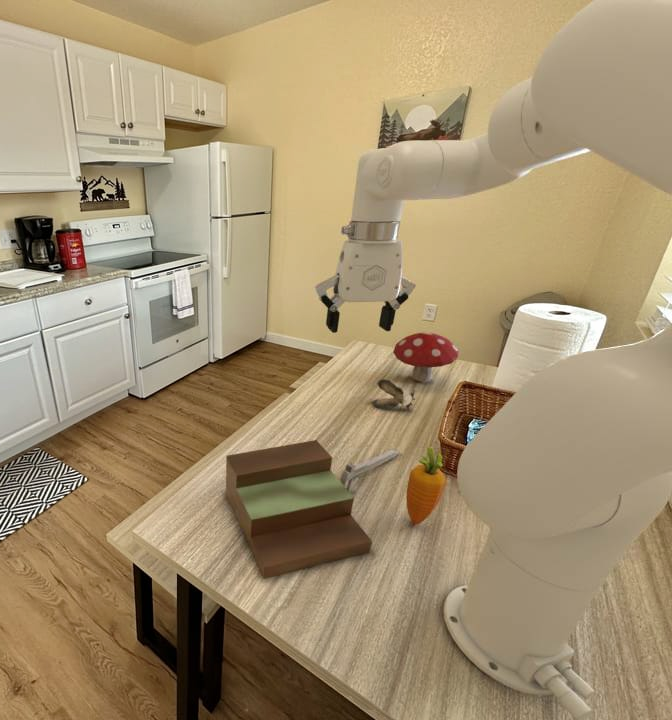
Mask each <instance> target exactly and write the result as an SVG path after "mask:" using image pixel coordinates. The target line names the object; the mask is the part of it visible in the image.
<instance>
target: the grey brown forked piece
mask: <svg viewBox="0 0 672 720" xmlns="http://www.w3.org/2000/svg"><path fill="white" fill-rule="evenodd" d="M376 384H377V386H378V388H379V389H380V390H382V391H383V392H385V393H386V394H388V395H390V396H392V397H390V398H389V397H388V398H387V397H386V398H380V399H379V398H378V399H374V400H372V401H371V404H372V405H373V406H374V407H376V408H385V407H388V408H389V407H390V408H395V407H398V406H399V405H403V407H406V410H408V411H410V408H411V406H413V401H414V400H416V398H415V393H416V389H413V391H411V392H410V394H406V395H405V391H404V390H403V389H402V388H401V387H399V386H397V385H396V384H395V383H393V382H392V380H390V379H383V378H382V379H379V380H378V381H377V382H376Z"/></svg>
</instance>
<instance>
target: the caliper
mask: <svg viewBox="0 0 672 720" xmlns="http://www.w3.org/2000/svg"><path fill="white" fill-rule="evenodd" d="M399 454H400V451H397V450H395V449H394V448H393V449H390V450H387V451H385V452H383V453H381V454H379V455H377V456H375V457H373V458H370V459H369V460H366V461H361V462H359V463H357V464H354V463H352V462H350V463H349V464H346V466H345V469H344V470H343V471H342V474H341V477H340V479H339V481H340V482H341V483H342V484H343V485H344V486H345V488H346V489H347V490H348V491H349V492H351V490H352V488H353V485H354V483H355V481H356V479H361V478H362V477H364V476H365V475H366V473H367V472H369V471H372V469H375V468H376V467H379V466H380V465H383V464H384V463H387V462H388V461H390V460H392V459H395V458H396V456H397V455H399Z"/></svg>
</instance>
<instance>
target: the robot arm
mask: <svg viewBox="0 0 672 720" xmlns="http://www.w3.org/2000/svg"><path fill="white" fill-rule="evenodd" d="M589 152H593V153H594V154H596V155H598V156H599V157H601V158H603V159H604V160H607V162H610V163H612V164H613V165H615V166H617V167H618V168H621V169H623V170H624V171H626V172H628V173H629V174H631V175H633V176H635V177H637V178H639V179H640V180H642V181H644V182H646V183H647V184H649V185H651V186H653V187H655V188H656V189H659V190H661V191H663V192H664V193H666V194H668V195H670V196H672V0H592V1H591V2H590V3H588V4H587V5H586V6H584V7H583V8H582V9H580V10H579V11H578V12H577V13H576V14H575V15H573V16H572V17H571V18H569V20H568V21H567V22H565V24H563V25H562V27H561V28H560V29H559V30H558V31H557V33H555V35H554V36H553V37H552V38H551V39H550V40H549V43H548V44H547V45H546V47H545V48H544V50H543V51H542V53H541V55H540V57H539V60H538V61H537V64H536V66H535V67H534V71H533V73H532V76H531V77H528V78H526V79H525V80H522V81H521V82H519V83H517V84H515V85H513V86H511V88H509V89H508V90H507V91H506V92H505V93H504V94H503V95H502V96H501V97H500V98H499V99H498V100H497V102H496V104H495V106H494V107H493V109H492V112H491V113H490V117H489V121H488V127H487V131H486V132H483V133H481V134H479V135H476V136H474V137H471V138H467V139H463V140H460V139H459V140H457V139H427V140H417V139H416V140H415V139H414V140H404V141H399V142H396V143H393V144H391V145H389V146H386V147H382V148H374V149H369V150H367V151H365V152H363V153H362V154H361V156H360V157H359V160H358V163H357V172H356V177H355V178H356V180H355V187H354V195H353V202H352V210H351V219H350V221H349V222H348V224H347V225H343V226H342V227H341V230H340V231H341V235H346V236H347V238H348V240H344V242H343V244H342V247H341V250H340V252H339V253H340V254H339V257H338V261H337V265H336V270H335V274H334V275H333V276H331V277H329V278H327V279H326V280H323V281H321V282H320V283H317V284H316V285H315V287H314V289H315V291H316V294H317V296H318V300H319V301H320V302H321V303H322V304H323V305H324V306H325V307H326V308H327V310H326V311H327V312H326V320H325V325H326V327H327V329H328V330H329V331H330V332H331V333H334V334H336V333H337V332H338V329H339V323H340V315H341V312H340V311H339V309H340V307H341V306H342V305H343V304H344V303H345V302H347V303H378V302H379V303H380V302H384V304H385V305H382V307H381V310H380V316H379V322H378V327H379V328H381V329H382V330H384V331H385V332H391V330H392V326H394V321H395V317H396V312H397V310H399V309H400V308H401V306H402V305H403V304H404V303H405V302H406V301H407V300H408V299H409V296H410V295H411V294H412V292H413V291H414V290H415V289H416V283H415V282H412V281H411V280H409V279H407V278H406V277H403V276H402V274H403V263H404V259H403V257H404V254H403V253H404V252H403V241H402V240H398V237H399V231H400V226H401V220H402V214H403V210H404V203H405V201H418V200H419V201H420V200H421V201H422V200H451V199H452V200H453V199H458V198H463V197H467V196H471V195H476V194H478V193H482V192H486V191H490V190H493V189H496V188H499V187H503V186H505V185H508V184H511V183H513V182H515V181H518V180H520V179H521V178H522V177H524V176H526V175H527V174H529V173H530V172H531V171H532V170H534V169H537V168H541V167H543V166H547V165H549V164H553V163H556V162H561V161H562V160H567V159H570V158H573V157H576V156H579V155H582V154H583V155H584V154H586V153H589ZM401 287H402V288H401ZM331 288H332V290H333V291H332V292H333V295H332V296H331V297H330V298H329V296H328V293H327V290H329V289H331ZM456 471H457V472H456V478H457V486H458V489H459V492H460V496H461V498H462V500H463V501H464V503H465V505H466V506H467V508H468V509H469V511H470V512H471V513H472V514H473V515H474V516H475V517H476V518H477V519H478V520H479V521H481V522H482V523H483V524H485V525H486V526H488V527H489V528H490V530H489V533H488V535H487V538H486V540H485V543H484V545H483V548H482V550H481V553H480V555H479V558H478V560H477V562H476V565H475V567H474V570H473V572H472V575H471V577H470V579H469V582H468V584H465V585H461V586H458V587H454V589H452V590H451V591H450V592H449V593H448V595H447V596H446V599H445V601H444V603H443V611H442V613H443V618H444V623H445V626H446V628H447V630H448V633H449V634H450V636H451V638H452V640H453V641H454V642H455V644H456V645H457V647H458V648H459V649H460V650H461V652H462V653H463V654H464V656H466V657H467V658H468V660H470V661H471V662H472V663H473V664H474V665H475V666H476V667H477V668H478V669H480V670H481V671H482V672H484V674H486V675H488V676H489V677H490V678H492V679H494V680H495V681H497V682H499V683H500V684H502V685H504V686H506V687H508V688H510V689H513V690H515V691H517V692H521V693H524V694H527V695H532V696H541V697H543V696H551V695H553V696H554V697H555V698H556V699H557V700H558V703H559V704H561V706H562V707H563V708H564V709H565V710H566V711H567V712H568V714H569V715H570V716H572V718H573V719H574V720H587V719H588V718H590V717H591V716H592V714H593V713H594V711H593V709H592V708H591V707H590V706H589V705H588V704H587V703H586V702H585V701H584V700H589V699H591V698H592V697H594V696H595V695H596V693H597V692H596V691H595V689H593V688H592V687H591V686H590V685H589V683H587V682H586V681H585V680H584V679H583V678H581V677H580V676H579V675H578V674H577V673H576V672H575V671H574V670H573V665H572V664H571V663H570V661H571V659H572V658H573V657H574V655H575V650H574V649H573V648H572V647H571V646H570V645H569V644H568V643H567V642H568V640H569V638H570V637H571V636H572V634H573V632H574V630H575V628H576V627H577V626H578V624H579V622H580V621H581V619H582V618H583V616H584V614H585V613H586V611H587V609H588V608H589V606H590V604H591V603H592V602H593V599H594V598H595V597H596V594H597V593H598V591H599V590H600V589H601V587H602V586H603V585H604V583H605V582H606V581H607V578H608V577H609V576H610V574H611V572H612V571H613V569H614V568H615V566H616V564H617V563H618V562H619V561H620V559H621V558H622V557H623V555H624V554H625V553H626V552H627V550H628V549H629V548H630V547H631V546H632V544H633V543H634V542H635V541H636V540H637V539H638V538H639V537H640V536H641V535H642V534H643V533H644V532H645V531H646V529H647V528H649V527H650V525H652V523H654V521H655V520H656V519H657V518H658V516H660V514H661V513H662V512H663V510H664V508H665V507H666V505H667V504H668V502H669V500H670V497H671V494H672V323H670V324H669V325H667V326H666V327H665V328H663V329H662V330H660V331H659V332H657V333H656V334H654V335H652V336H651V337H649V338H647V339H644V340H641V341H638V342H633V343H630V344H626V345H618V346H612V347H604V348H597V349H592V350H587V351H583V352H578V353H575V354H572V355H569V356H566V357H564V358H561V359H559V360H557V361H554V362H553V363H551V364H550V365H547V366H545V367H544V368H543V369H541V370H540V371H538V372H536V373H535V374H534V375H532V376H531V377H530V378H529V379H528V380H527V381H526V382H524V384H523V385H522V386H521V387H520V388H519V389H518V390H517V391H516V392H515V393H514V394H512V396H511V397H510V398H509V399H508V400H507V402H505V404H504V405H503V406H502V407H501V408H500V409H499V410H498V411H497V412H496V413H495V414H494V415H493V416H492V417H491V418H490V419H489V420H488V421H487V422H486V423H485V425H483V427H482V428H480V430H479V431H478V432H477V433H476V434H475V435H474V436H473V437H472V438H471V440H470V441H469V442H468V443H467V444H466V446H465V447H464V449H463V451H462V452H461V455H460V458H459V460H458V464H457V470H456ZM567 682H568V683H569V684H570V685H571V687H572V688H573V689H574V690H575V691H576V692H577V693H578V694H579V695H580V696H581V697H582V698H583V699H584V700H583V699H582V698H581V697H580V696H579V695H578V694H577V693H576V692H575V691H574V690H572V689H571V688H570V687H569V686H568V685H567Z"/></svg>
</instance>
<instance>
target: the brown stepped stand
mask: <svg viewBox="0 0 672 720" xmlns="http://www.w3.org/2000/svg"><path fill="white" fill-rule="evenodd" d="M225 462H226V463H225V495H226V498H227V500H228V502H229V504H230V506H231V509H232V511H233V514H234V515H235V518H236V521H237V522H238V524H239V527H240V529H241V531H242V534H243V536H244V538H245V540H246V542H247V545H248V547H249V549H250V552H251V554H252V556H253V558H254V560H255V563H256V565H257V567H258V569H259V572H260V574H261V576H262V578H263V579H267V578H271V577H276V576H279V575H284V574H288V573H292V572H297V571H299V570H304V569H308V568H312V567H315V566H319V565H324V564H327V563H333V562H337V561H341V560H344V559H348V558H352V557H356V556H360V555H365V554H368V553H370V552H371V548H372V543H373V541H372V539H371V538H370V537H369V535H368V534H367V533H366V532H365V529H363V527H361V525H360V524H359V523H358V522H357V520H356V519H355V518H354V516H353V515H352V510H353V505H354V500H355V497H354V496H353V494H352V493H351V491H348V490H347V489H346V488H345V486H344V485H343V484H342V483H341V482H340V479H339V478H338V477H337V476H336V475H335V474H334V472H333V471H332V470H331V468H332V463H333V457H332V456H331V454H330V453H329V452H328V451H327V450H326V449H325V448H324V447H323V446H322V444H320V442H319V441H318V440H317V439H314V440H308V441H307V440H306V441H302V442H296V443H291V444H285V445H280V446H274V447H268V448H261V449H257V450H250V451H245V452H239V453H234V454H233V453H232V454H228V455H226V461H225Z"/></svg>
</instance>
